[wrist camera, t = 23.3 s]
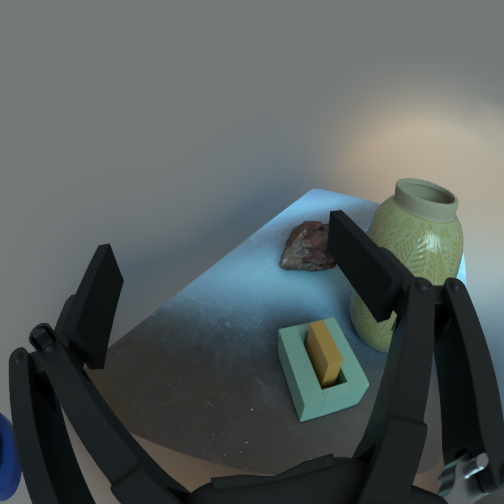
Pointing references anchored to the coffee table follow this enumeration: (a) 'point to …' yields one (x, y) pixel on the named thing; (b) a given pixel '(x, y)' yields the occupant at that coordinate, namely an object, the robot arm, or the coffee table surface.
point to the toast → (323, 354)
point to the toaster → (305, 381)
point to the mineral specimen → (307, 248)
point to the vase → (412, 246)
